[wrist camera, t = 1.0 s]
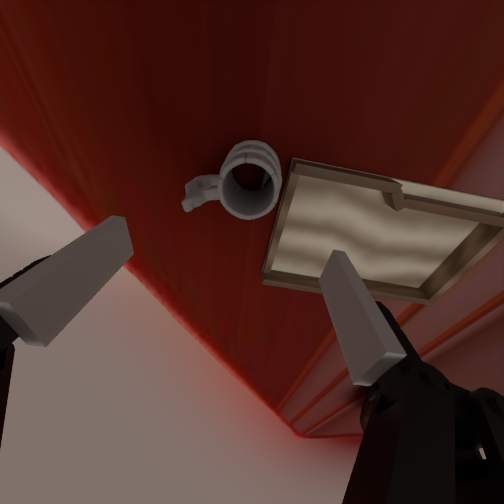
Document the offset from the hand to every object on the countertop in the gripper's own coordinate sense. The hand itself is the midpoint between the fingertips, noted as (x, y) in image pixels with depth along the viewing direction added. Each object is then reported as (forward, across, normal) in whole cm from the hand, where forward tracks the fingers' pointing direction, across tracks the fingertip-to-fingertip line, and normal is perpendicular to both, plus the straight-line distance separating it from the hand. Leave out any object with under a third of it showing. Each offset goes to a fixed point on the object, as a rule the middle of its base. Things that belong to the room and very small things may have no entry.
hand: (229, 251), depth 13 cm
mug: (+19, -2, 0) cm, 19 cm away
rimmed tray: (+19, +21, -7) cm, 29 cm away
